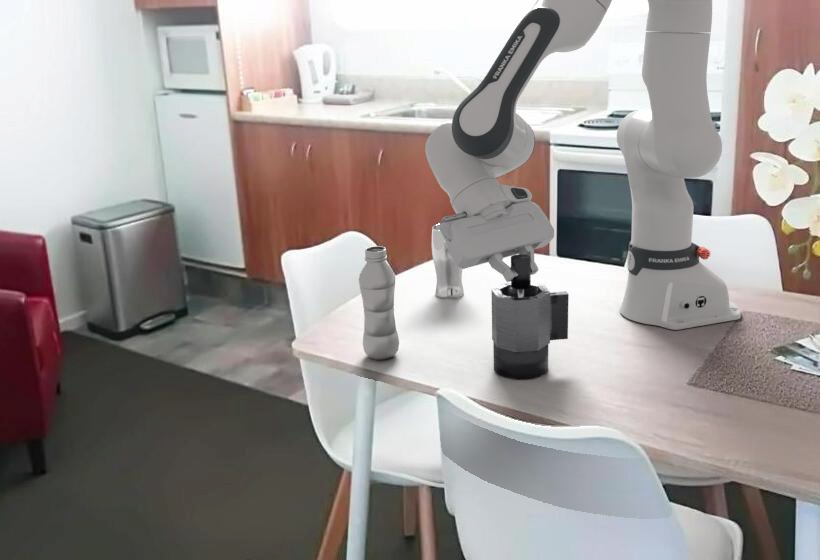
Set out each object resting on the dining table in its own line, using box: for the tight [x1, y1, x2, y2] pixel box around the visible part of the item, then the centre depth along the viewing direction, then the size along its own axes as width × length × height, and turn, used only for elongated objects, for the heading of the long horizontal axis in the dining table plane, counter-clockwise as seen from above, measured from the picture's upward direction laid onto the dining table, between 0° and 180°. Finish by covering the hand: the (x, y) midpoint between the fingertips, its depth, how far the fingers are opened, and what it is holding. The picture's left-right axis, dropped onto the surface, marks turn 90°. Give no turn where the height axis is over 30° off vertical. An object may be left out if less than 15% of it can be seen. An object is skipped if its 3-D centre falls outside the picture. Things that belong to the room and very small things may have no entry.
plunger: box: [510, 254, 532, 298], centre depth 141 cm, size 5×5×14 cm
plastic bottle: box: [358, 245, 400, 360], centre depth 150 cm, size 6×7×20 cm
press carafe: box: [491, 281, 569, 381], centre depth 143 cm, size 12×9×14 cm
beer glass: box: [431, 223, 465, 300], centre depth 180 cm, size 7×7×15 cm
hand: (523, 276), depth 140 cm, fingers closed on plunger, 3 cm apart
